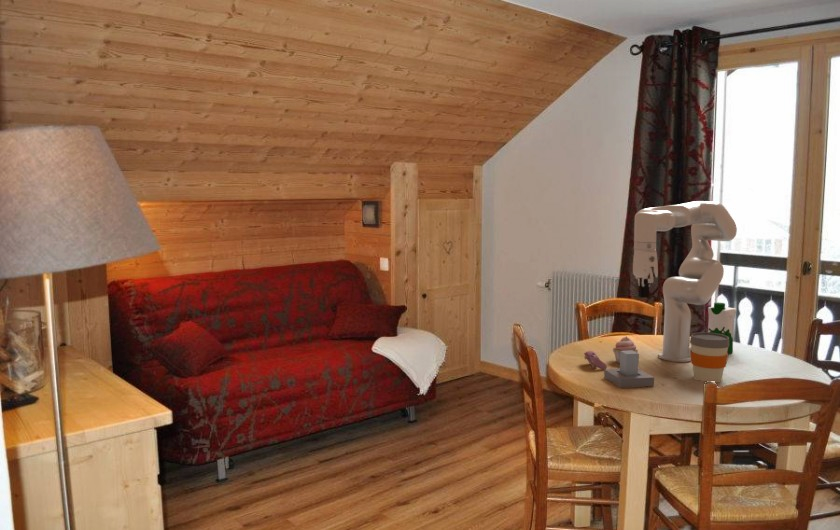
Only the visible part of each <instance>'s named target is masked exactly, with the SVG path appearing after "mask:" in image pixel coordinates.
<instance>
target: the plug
mask: <svg viewBox="0 0 840 530" xmlns="http://www.w3.org/2000/svg"><path fill="white" fill-rule="evenodd" d="M639 355H640V353H639V352H635V351H633V350H630V351H620V363H619V369H620V374H622V375H623V376H638V369H639V359H640V357H639Z"/></svg>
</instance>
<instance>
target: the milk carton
mask: <svg viewBox="0 0 840 530" xmlns="http://www.w3.org/2000/svg"><path fill="white" fill-rule="evenodd" d="M707 311H708V325H707V327H708V329H707V333H717V334H722V335H726V336H728V337H729V347H728V351H727V353H729V354H732V352H733V353H734V350H733V348H734V343H733V342H734V328H735V327H734V326H735V317H736V312H737V308H735V307H729V306H726V303H725V302H714V303H713V306H709V307H707Z"/></svg>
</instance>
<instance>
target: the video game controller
mask: <svg viewBox="0 0 840 530" xmlns="http://www.w3.org/2000/svg"><path fill="white" fill-rule="evenodd" d="M583 358H584V360H586V361H588V363H589V364H590V366H591V365H592V366H591V367H593V369H596V368H598V369H600V370H602V369H608V367H607V364H606V363H605V362H603V361H602V360H601V358H600V357H599V356H598V355H597V353H596V352H595V351H593V350H588V351H585V352H584V356H583Z"/></svg>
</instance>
